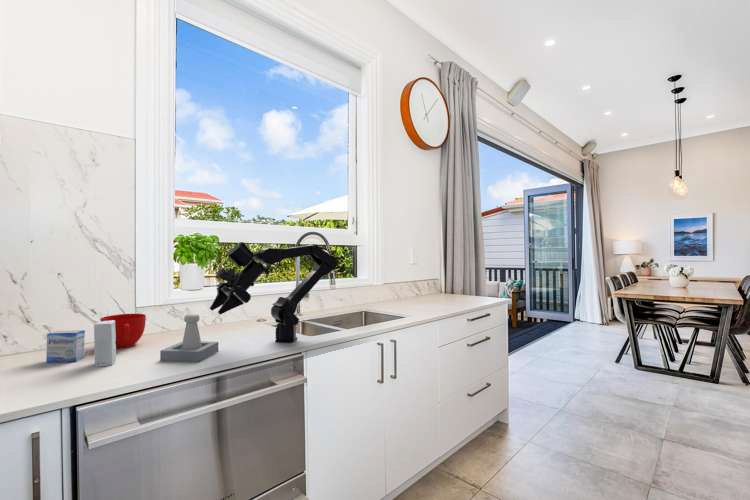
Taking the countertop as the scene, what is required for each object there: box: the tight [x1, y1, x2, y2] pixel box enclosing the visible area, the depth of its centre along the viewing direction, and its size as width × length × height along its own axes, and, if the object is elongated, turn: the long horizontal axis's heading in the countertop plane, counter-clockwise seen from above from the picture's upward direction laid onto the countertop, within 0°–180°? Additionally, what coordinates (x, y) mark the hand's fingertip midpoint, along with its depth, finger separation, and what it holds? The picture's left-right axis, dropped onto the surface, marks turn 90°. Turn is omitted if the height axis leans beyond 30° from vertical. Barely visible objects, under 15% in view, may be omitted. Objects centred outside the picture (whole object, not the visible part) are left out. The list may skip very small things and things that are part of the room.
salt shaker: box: [181, 313, 202, 350], centre depth 118 cm, size 6×6×13 cm
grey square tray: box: [159, 340, 219, 363], centre depth 117 cm, size 12×12×3 cm
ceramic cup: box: [100, 313, 147, 349], centre depth 127 cm, size 13×17×10 cm
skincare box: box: [93, 320, 117, 368], centre depth 109 cm, size 6×4×12 cm
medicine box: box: [45, 329, 86, 364], centre depth 112 cm, size 8×4×9 cm, turn 101°
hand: (214, 311), depth 122 cm, fingers open, 9 cm apart
